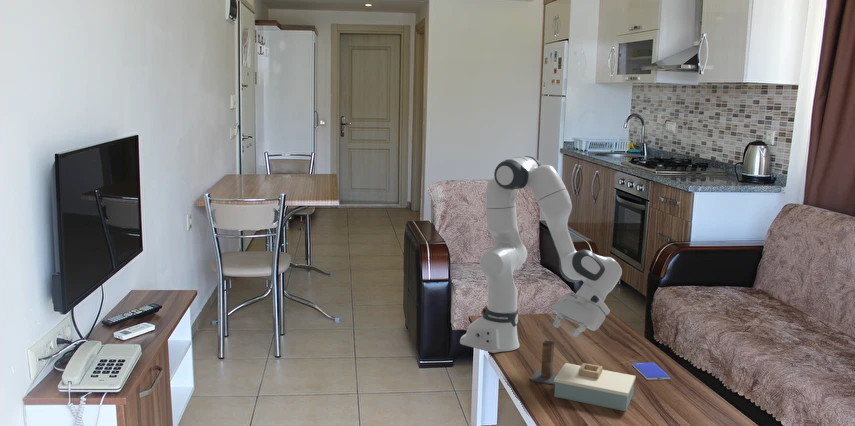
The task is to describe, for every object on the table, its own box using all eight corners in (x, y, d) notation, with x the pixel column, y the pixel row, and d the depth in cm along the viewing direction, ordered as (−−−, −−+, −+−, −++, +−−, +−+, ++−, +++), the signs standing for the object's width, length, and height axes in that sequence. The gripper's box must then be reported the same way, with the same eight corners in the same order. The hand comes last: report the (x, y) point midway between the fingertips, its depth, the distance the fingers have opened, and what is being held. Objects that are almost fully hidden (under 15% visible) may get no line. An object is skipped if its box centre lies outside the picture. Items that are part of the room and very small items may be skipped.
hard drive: (632, 362, 244) (647, 377, 232) (654, 362, 245) (670, 376, 233) (632, 367, 244) (647, 381, 232) (654, 366, 245) (670, 380, 233)
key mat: (529, 380, 229) (530, 378, 229) (537, 370, 238) (537, 369, 237) (556, 385, 226) (556, 384, 226) (563, 375, 234) (563, 374, 234)
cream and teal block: (553, 396, 217) (554, 372, 216) (564, 379, 230) (565, 357, 229) (626, 411, 208) (628, 386, 207) (634, 393, 221) (636, 369, 220)
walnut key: (540, 377, 231) (542, 343, 229) (543, 374, 234) (545, 340, 232) (549, 379, 230) (551, 344, 228) (552, 375, 232) (554, 341, 230)
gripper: (563, 285, 243) (539, 316, 240) (604, 301, 225) (579, 334, 222) (572, 296, 246) (549, 326, 243) (613, 313, 228) (589, 345, 225)
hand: (564, 330), depth 232 cm, fingers open, 8 cm apart
